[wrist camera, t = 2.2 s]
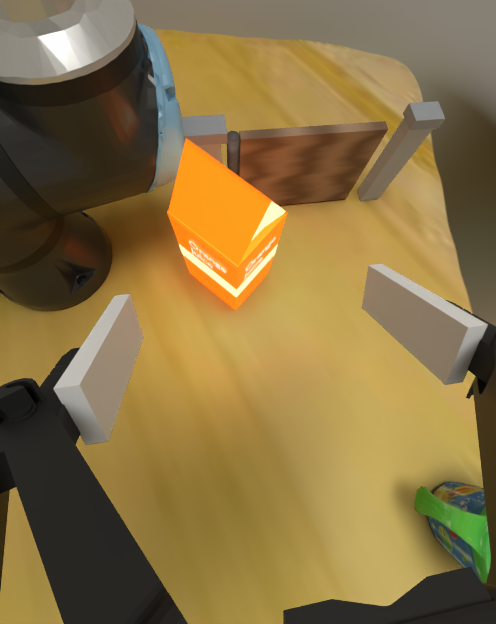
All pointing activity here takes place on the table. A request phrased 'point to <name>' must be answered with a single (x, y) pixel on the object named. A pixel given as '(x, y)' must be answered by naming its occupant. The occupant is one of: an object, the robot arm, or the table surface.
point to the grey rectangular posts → (392, 159)
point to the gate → (304, 160)
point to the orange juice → (223, 226)
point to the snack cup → (459, 523)
